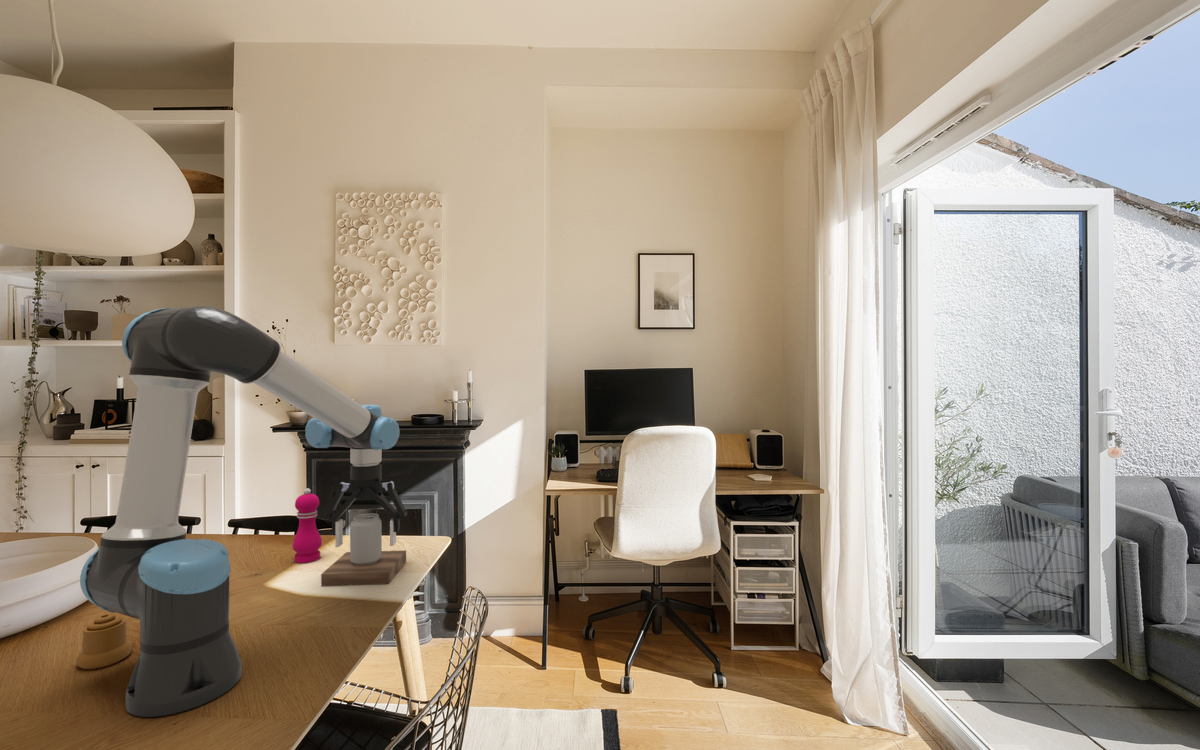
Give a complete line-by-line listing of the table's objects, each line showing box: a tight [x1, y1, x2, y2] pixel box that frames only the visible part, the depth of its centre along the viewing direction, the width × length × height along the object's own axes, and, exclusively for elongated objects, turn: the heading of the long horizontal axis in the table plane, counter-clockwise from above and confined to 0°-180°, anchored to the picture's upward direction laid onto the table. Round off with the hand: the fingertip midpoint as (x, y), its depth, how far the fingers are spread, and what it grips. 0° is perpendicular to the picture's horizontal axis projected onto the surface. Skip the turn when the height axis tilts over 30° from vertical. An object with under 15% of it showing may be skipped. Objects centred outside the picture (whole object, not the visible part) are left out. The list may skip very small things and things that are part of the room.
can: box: [349, 512, 383, 566], centre depth 139 cm, size 8×8×12 cm
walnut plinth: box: [320, 549, 407, 587], centre depth 139 cm, size 16×16×3 cm
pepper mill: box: [292, 487, 323, 564], centre depth 149 cm, size 7×7×20 cm
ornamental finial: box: [75, 612, 133, 670], centre depth 97 cm, size 8×8×8 cm
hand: (366, 545), depth 139 cm, fingers open, 13 cm apart
